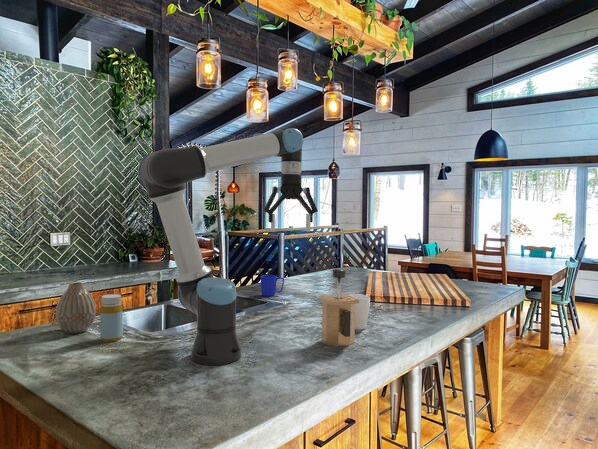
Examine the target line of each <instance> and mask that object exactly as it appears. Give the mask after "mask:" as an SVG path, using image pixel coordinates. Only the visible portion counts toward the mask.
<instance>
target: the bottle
mask: <svg viewBox="0 0 598 449" xmlns="http://www.w3.org/2000/svg"><path fill="white" fill-rule="evenodd" d="M100 300H101V301H100V302H101V307H100V310H99V316H100V318H99V320H100V321H99V322H100V323H99V324H100V326H99V328H100V340H101V341H102V342H104V343H115V342H118V341H121V340H122V338H123V335H124V333H123V332H124V331H123V328H124V326H123V325H124V324H123V322H124V321H123V320H124V319H123V318H124V317H123V316H124V315H123V307H122V294H118V293H113V294H111V293H110V294H104V295H102V296H101V299H100Z"/></svg>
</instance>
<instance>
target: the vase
mask: <svg viewBox="0 0 598 449" xmlns="http://www.w3.org/2000/svg"><path fill="white" fill-rule="evenodd" d="M83 283H84V282H79V281H76V282H70V283H69V284H68V287H67V289H66V290H65V291H64V293H63V294H62V295H61V297H60V298H59V300H58V301H57V305H56V308H55V319H56V323H57V325H58V326H59V327H60V329H61V330H62V331H64V332H65V333H66V334H81V333H84V332H87V330H88V329H89V328H91V326H92V325H93V324H94V322H95V320H96V316H97V305H96V302H95V299H94V298H93V296H92V294H90V292H89V291H88V290H87V289H86V288H85V287H84V284H83Z"/></svg>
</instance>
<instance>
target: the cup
mask: <svg viewBox="0 0 598 449" xmlns="http://www.w3.org/2000/svg"><path fill="white" fill-rule="evenodd" d="M348 295H349V296H351V297H353V298H355V299H357V300H359V303H357V304H355V330H357V331H358V330H359V331H360V330H365V329H367V326H368V325H367V324H368V319H369V313H370V312H369V311H370V306H371V302H370V295H367V294H361V293H351V294H348Z"/></svg>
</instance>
